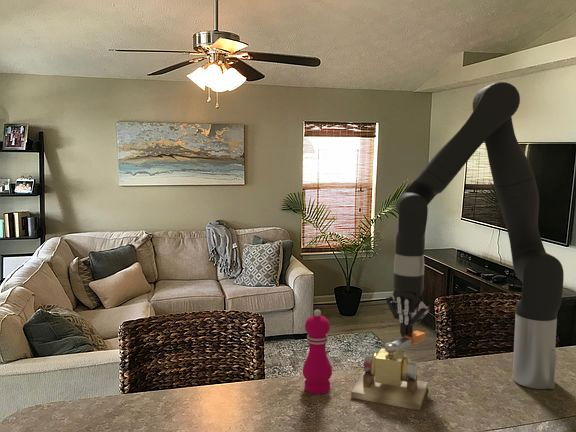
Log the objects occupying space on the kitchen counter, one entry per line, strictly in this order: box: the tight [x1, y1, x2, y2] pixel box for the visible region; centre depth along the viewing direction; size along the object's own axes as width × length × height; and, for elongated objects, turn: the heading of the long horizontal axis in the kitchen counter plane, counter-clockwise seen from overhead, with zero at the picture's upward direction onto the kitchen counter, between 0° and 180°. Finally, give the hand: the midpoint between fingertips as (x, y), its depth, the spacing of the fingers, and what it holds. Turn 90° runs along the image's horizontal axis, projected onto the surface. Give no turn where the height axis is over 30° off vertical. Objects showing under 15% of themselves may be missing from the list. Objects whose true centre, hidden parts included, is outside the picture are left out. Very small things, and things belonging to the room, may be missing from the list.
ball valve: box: [363, 347, 418, 386], centre depth 120 cm, size 12×6×7 cm, turn 67°
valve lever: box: [384, 330, 426, 353], centre depth 123 cm, size 3×14×2 cm, turn 131°
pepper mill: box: [302, 309, 333, 395], centre depth 122 cm, size 7×7×20 cm
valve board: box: [350, 371, 428, 411], centre depth 120 cm, size 16×12×4 cm
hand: (405, 337), depth 129 cm, fingers closed
